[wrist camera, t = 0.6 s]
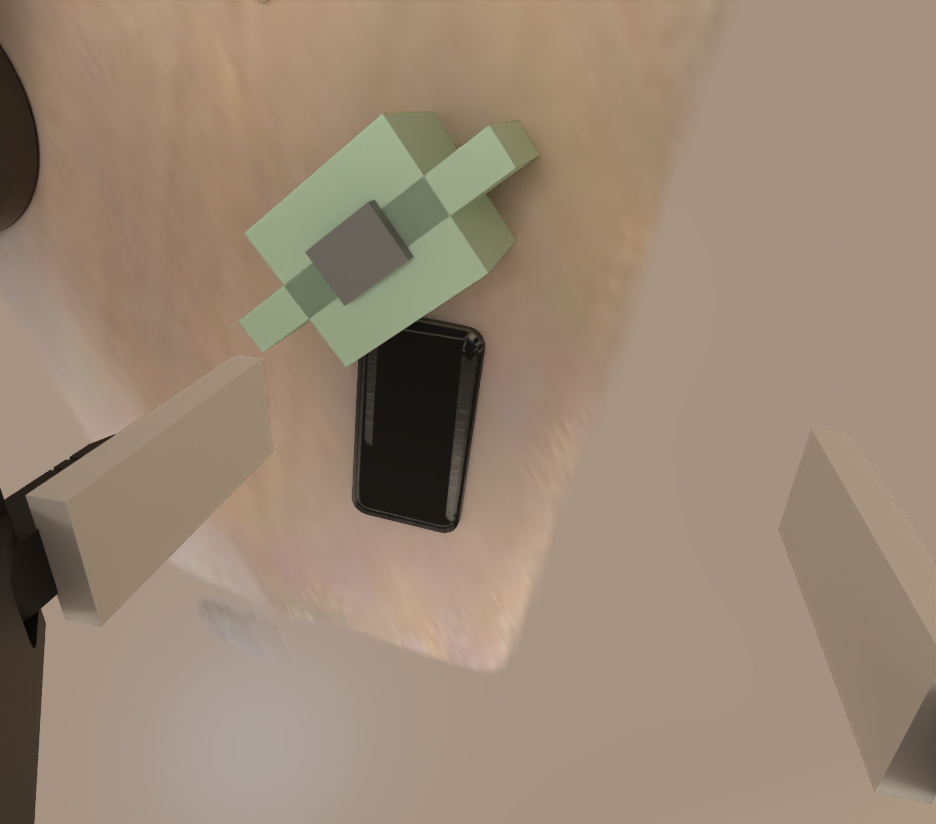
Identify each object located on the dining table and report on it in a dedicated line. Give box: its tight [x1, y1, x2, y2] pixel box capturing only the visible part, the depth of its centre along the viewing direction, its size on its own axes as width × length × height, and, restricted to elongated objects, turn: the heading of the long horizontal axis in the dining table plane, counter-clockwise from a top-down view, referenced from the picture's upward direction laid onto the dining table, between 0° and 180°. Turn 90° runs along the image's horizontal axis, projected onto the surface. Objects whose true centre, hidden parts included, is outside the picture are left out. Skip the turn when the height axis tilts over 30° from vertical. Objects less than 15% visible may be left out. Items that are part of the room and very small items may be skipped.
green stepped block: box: [238, 112, 540, 367], centre depth 33 cm, size 16×8×9 cm, turn 125°
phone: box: [352, 318, 485, 533], centre depth 42 cm, size 8×1×15 cm
